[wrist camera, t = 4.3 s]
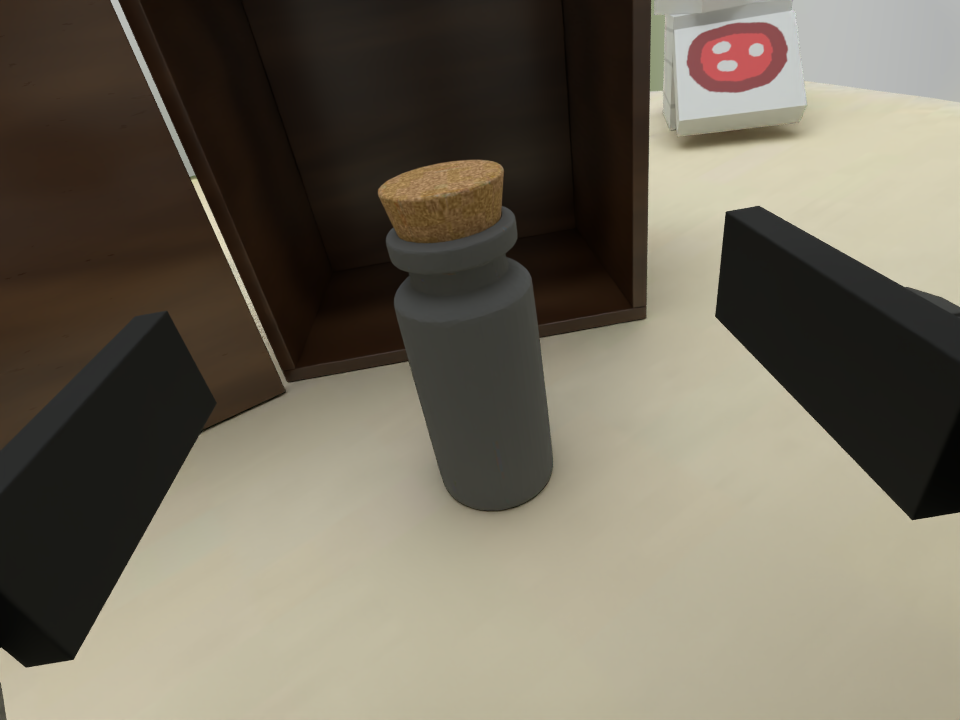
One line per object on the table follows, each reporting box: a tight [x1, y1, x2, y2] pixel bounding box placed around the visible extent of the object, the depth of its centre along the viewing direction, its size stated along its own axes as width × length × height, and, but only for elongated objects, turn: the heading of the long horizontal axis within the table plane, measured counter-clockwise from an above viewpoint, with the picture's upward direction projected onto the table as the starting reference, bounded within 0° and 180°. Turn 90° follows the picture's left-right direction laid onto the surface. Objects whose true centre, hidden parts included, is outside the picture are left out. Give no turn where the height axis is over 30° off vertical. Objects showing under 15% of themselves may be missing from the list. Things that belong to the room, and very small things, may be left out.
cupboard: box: [118, 0, 651, 382], centre depth 38 cm, size 18×26×26 cm
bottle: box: [378, 160, 553, 511], centre depth 24 cm, size 6×6×15 cm
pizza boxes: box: [654, 0, 807, 137], centre depth 76 cm, size 19×30×18 cm, turn 169°
